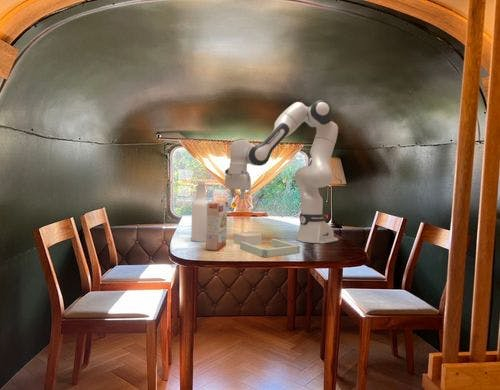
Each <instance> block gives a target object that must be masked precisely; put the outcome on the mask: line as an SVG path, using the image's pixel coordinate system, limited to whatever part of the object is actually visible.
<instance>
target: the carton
mask: <svg viewBox="0 0 500 390" xmlns="http://www.w3.org/2000/svg"><path fill="white" fill-rule="evenodd" d="M240 242H245V243H248V244H251V245H254V246H258V245H259V244H260V245H262V244H263V234H261V233H258V232H253V231H243V232H242V231H239V232H234V233H233V244H237V245H240ZM260 245H259V246H260Z"/></svg>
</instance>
